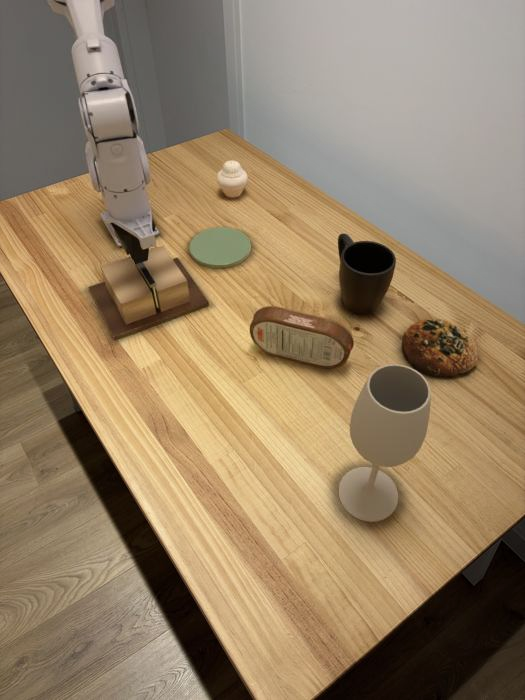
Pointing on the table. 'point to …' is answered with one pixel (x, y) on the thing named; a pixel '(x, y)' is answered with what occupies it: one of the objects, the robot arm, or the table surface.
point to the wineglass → (384, 438)
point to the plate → (220, 247)
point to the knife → (143, 274)
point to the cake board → (150, 321)
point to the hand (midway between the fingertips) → (140, 259)
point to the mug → (364, 273)
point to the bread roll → (439, 348)
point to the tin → (301, 337)
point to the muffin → (232, 179)
